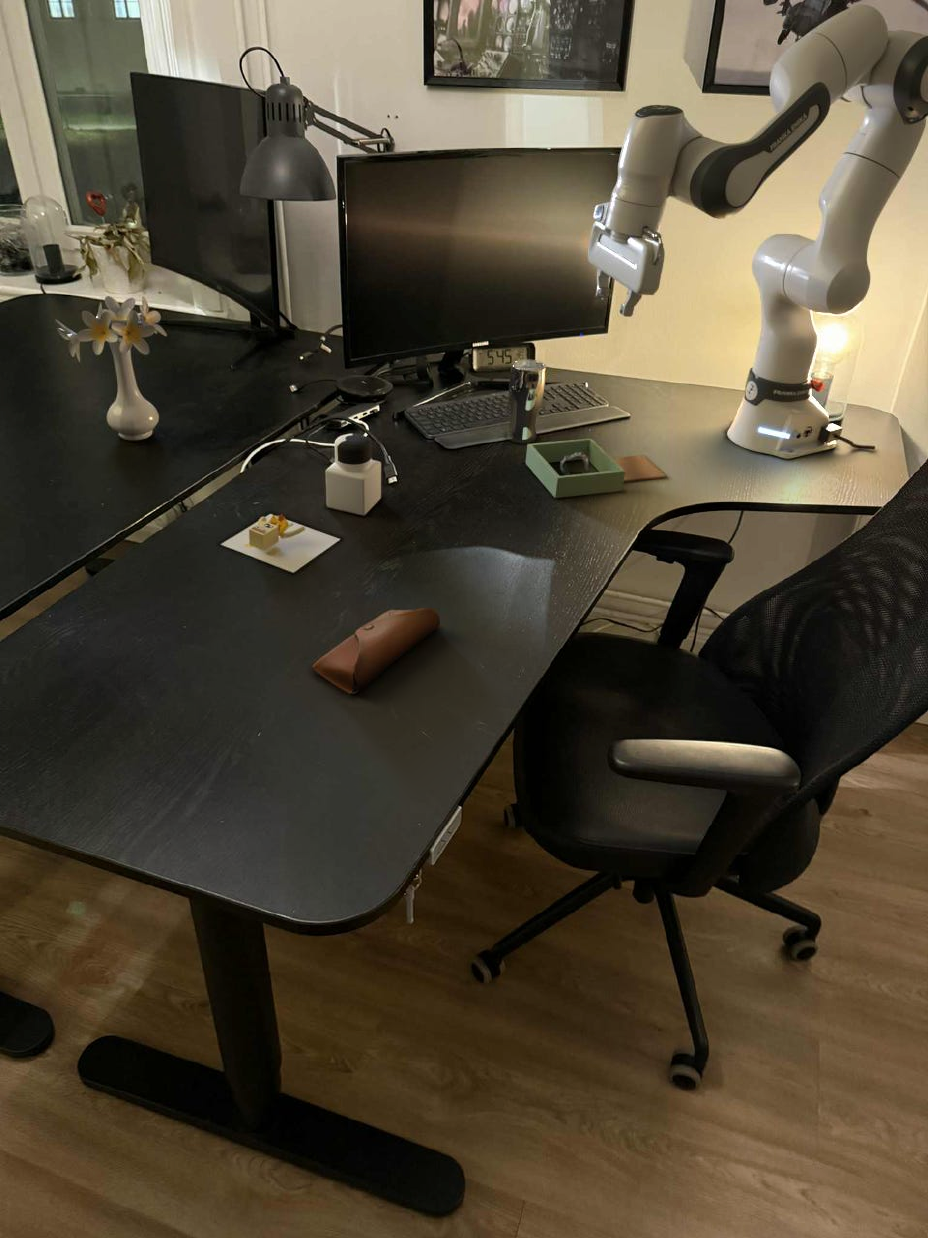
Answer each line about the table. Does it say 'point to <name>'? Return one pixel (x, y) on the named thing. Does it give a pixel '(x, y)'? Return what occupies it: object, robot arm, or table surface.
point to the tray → (576, 484)
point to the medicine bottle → (353, 476)
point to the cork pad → (638, 468)
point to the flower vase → (121, 360)
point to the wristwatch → (563, 466)
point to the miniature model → (281, 542)
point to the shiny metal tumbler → (525, 399)
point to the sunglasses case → (375, 647)
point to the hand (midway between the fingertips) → (613, 306)
